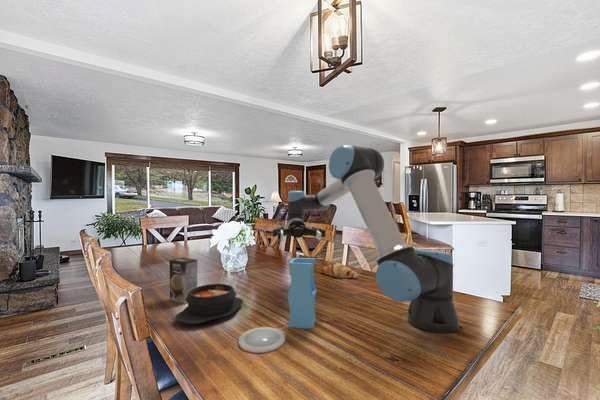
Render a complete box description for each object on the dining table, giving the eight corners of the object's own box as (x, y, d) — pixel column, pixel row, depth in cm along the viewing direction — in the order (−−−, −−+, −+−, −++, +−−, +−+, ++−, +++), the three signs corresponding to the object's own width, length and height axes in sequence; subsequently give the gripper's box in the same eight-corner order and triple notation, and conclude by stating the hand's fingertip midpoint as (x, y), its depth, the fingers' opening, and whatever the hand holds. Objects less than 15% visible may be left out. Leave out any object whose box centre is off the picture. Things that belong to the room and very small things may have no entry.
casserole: (218, 298, 115) (218, 277, 115) (255, 306, 106) (255, 284, 106) (162, 322, 93) (161, 296, 93) (201, 335, 84) (201, 306, 84)
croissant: (360, 284, 143) (363, 268, 146) (353, 279, 135) (356, 263, 138) (322, 277, 154) (326, 263, 157) (314, 272, 147) (318, 257, 150)
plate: (294, 343, 79) (293, 340, 79) (250, 358, 71) (250, 354, 71) (271, 325, 90) (271, 323, 90) (231, 337, 82) (231, 334, 82)
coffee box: (169, 300, 112) (168, 259, 112) (182, 295, 118) (182, 256, 118) (185, 304, 108) (184, 262, 108) (198, 299, 114) (197, 258, 114)
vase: (312, 328, 87) (312, 263, 87) (287, 326, 89) (287, 262, 89) (316, 318, 95) (316, 258, 95) (293, 316, 97) (293, 257, 96)
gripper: (325, 236, 124) (335, 247, 103) (267, 236, 122) (265, 247, 101) (325, 219, 123) (336, 227, 102) (267, 218, 121) (266, 226, 100)
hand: (301, 237), depth 101 cm, fingers open, 13 cm apart
